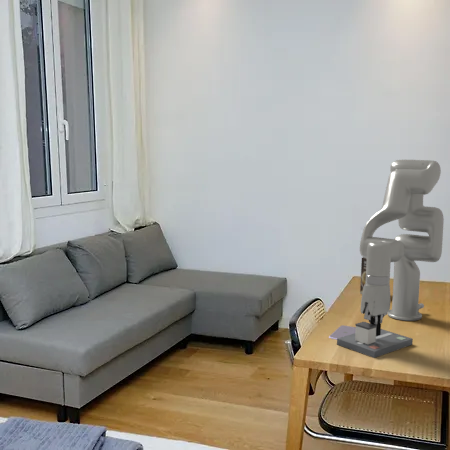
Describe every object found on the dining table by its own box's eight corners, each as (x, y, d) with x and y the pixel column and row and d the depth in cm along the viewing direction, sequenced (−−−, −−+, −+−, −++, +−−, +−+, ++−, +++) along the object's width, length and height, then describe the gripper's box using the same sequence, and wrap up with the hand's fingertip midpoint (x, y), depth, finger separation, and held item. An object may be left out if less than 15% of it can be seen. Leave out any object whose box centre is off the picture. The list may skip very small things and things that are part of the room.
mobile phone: (362, 327, 210) (349, 340, 197) (361, 330, 210) (349, 342, 197) (341, 324, 214) (327, 336, 201) (341, 326, 214) (327, 339, 201)
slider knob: (363, 337, 195) (363, 321, 194) (375, 342, 191) (376, 325, 190) (354, 340, 192) (355, 323, 191) (367, 344, 188) (368, 328, 187)
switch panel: (375, 332, 207) (375, 326, 207) (412, 344, 195) (412, 338, 195) (336, 344, 195) (337, 338, 194) (374, 357, 183) (374, 351, 183)
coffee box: (359, 293, 259) (360, 257, 257) (371, 292, 262) (372, 256, 260) (372, 298, 251) (374, 261, 249) (384, 297, 254) (386, 260, 252)
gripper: (382, 274, 199) (379, 327, 202) (353, 280, 190) (351, 336, 193) (401, 279, 193) (398, 333, 196) (372, 285, 184) (369, 342, 187)
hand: (374, 334), depth 194 cm, fingers closed
